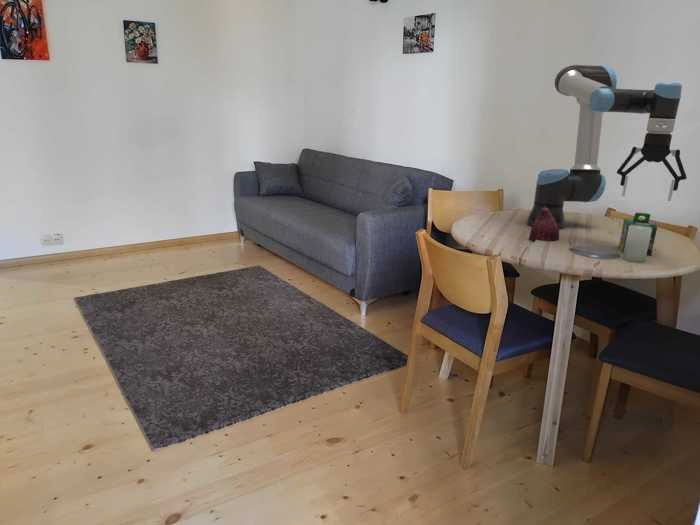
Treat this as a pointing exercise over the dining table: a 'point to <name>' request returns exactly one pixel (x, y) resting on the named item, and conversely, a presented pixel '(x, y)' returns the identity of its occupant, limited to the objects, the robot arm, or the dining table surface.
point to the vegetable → (544, 227)
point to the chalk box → (638, 222)
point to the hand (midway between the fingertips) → (645, 198)
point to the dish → (594, 252)
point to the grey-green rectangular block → (637, 243)
